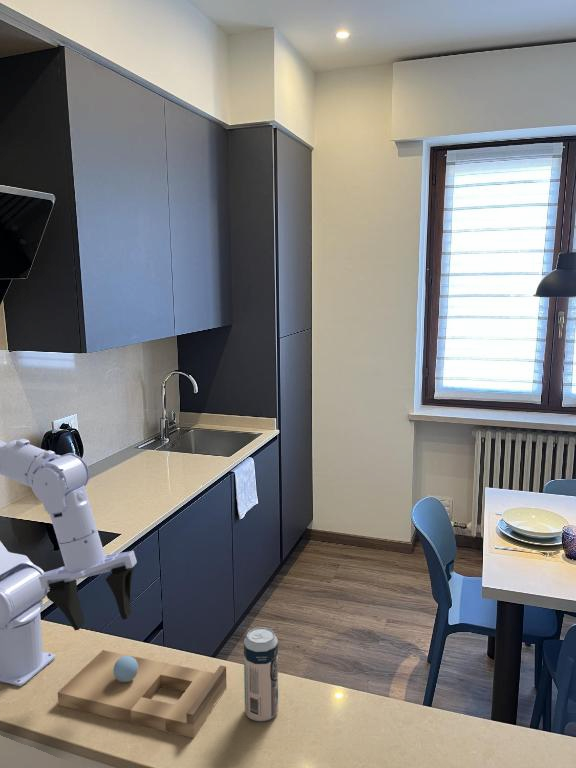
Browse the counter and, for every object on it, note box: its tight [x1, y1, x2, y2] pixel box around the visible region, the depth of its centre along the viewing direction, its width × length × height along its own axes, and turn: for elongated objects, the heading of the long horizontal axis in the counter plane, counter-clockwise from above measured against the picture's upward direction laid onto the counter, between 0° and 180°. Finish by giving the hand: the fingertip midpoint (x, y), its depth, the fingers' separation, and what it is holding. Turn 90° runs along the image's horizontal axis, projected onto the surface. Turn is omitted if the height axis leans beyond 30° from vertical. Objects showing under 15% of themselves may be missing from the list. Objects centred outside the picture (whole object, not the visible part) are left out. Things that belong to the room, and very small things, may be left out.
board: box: [57, 649, 228, 739], centre depth 87 cm, size 22×11×4 cm, turn 72°
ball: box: [113, 655, 138, 682], centre depth 88 cm, size 4×4×4 cm
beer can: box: [243, 626, 279, 722], centre depth 83 cm, size 5×5×12 cm
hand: (103, 621), depth 88 cm, fingers open, 7 cm apart
